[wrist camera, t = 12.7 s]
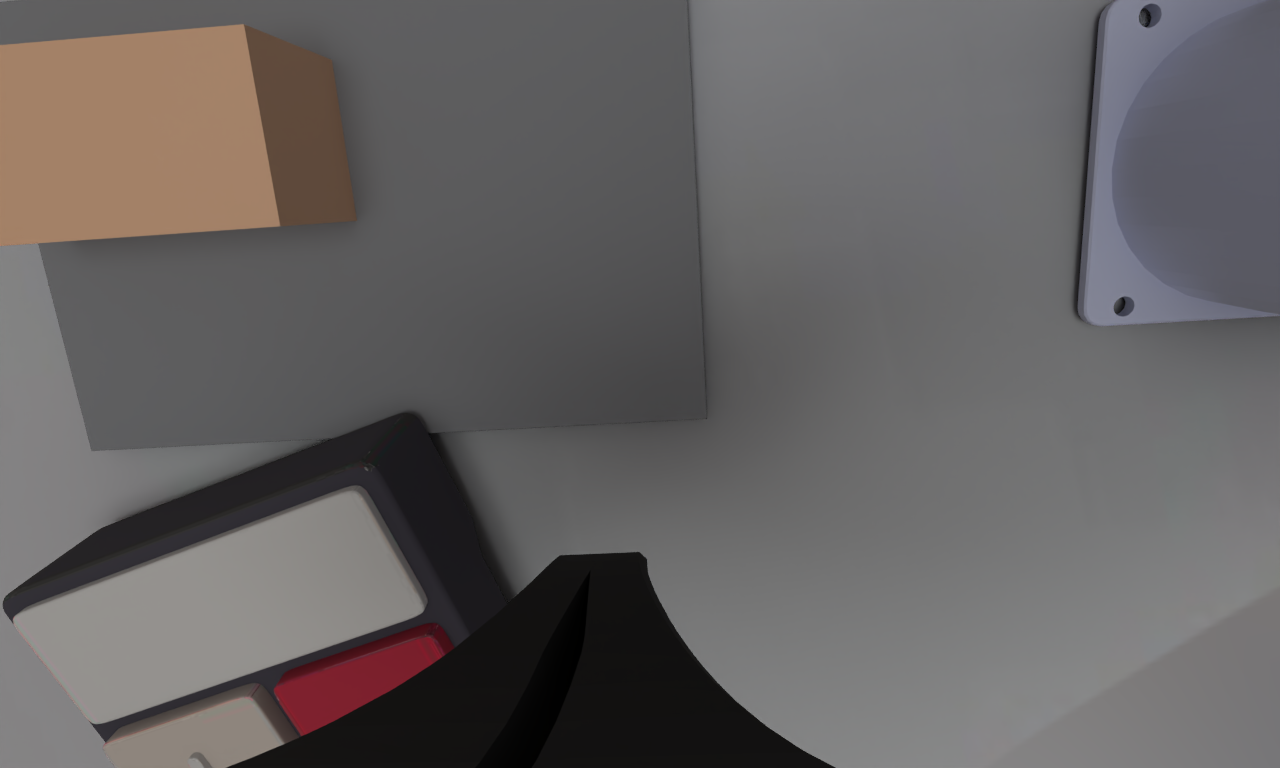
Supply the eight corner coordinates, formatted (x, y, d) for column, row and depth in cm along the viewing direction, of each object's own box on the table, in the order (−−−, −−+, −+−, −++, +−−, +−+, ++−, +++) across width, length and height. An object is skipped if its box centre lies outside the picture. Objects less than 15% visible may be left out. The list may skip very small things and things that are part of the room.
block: (243, 24, 15) (-129, 56, 15) (280, 226, 16) (-71, 251, 16) (331, 59, 19) (32, 84, 19) (357, 221, 20) (71, 240, 20)
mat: (684, -52, 18) (684, -59, 18) (706, 413, 21) (706, 419, 21) (-6, 9, 19) (-24, 4, 19) (104, 445, 22) (91, 451, 22)
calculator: (277, 1011, 23) (-37, 619, 18) (335, 876, 27) (90, 530, 22) (612, 921, 21) (357, 472, 17) (619, 793, 25) (415, 405, 21)
